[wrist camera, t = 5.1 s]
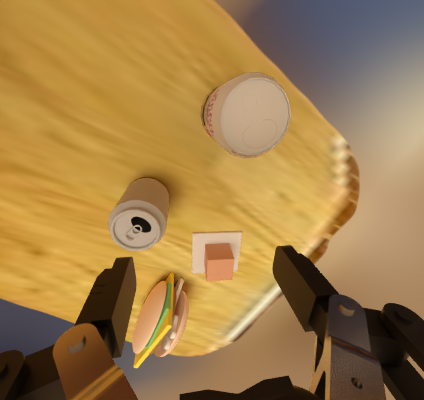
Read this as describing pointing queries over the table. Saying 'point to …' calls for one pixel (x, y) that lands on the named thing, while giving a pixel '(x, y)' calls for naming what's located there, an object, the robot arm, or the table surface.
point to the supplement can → (247, 114)
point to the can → (140, 215)
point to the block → (218, 262)
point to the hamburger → (161, 320)
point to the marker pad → (213, 238)
